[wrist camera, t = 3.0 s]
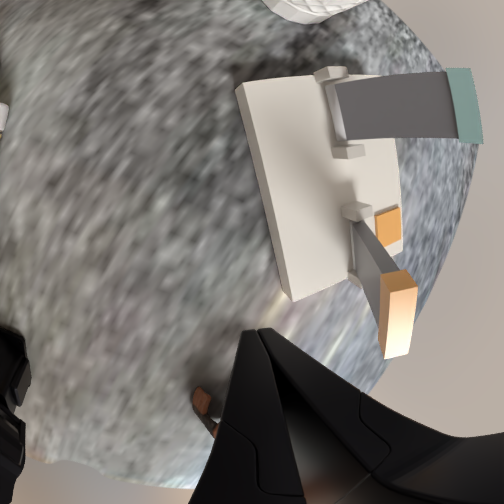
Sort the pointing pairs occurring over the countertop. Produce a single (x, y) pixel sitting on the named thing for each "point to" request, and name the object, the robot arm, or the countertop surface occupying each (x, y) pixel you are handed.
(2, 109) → the sprinkles bottle
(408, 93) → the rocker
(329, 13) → the white cup
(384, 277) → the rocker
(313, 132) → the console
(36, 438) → the countertop surface
